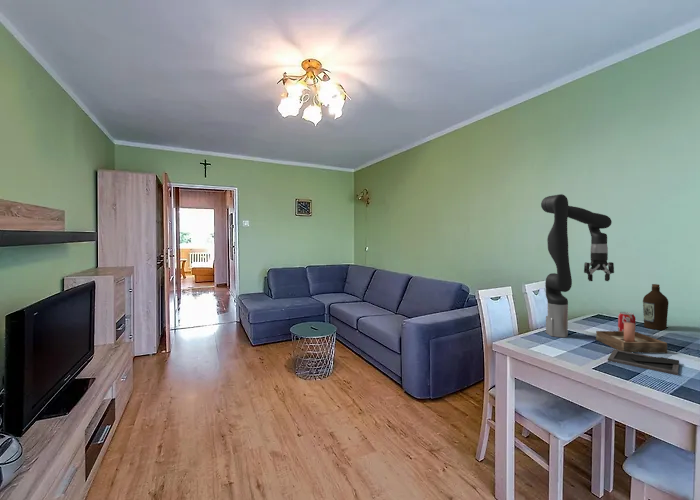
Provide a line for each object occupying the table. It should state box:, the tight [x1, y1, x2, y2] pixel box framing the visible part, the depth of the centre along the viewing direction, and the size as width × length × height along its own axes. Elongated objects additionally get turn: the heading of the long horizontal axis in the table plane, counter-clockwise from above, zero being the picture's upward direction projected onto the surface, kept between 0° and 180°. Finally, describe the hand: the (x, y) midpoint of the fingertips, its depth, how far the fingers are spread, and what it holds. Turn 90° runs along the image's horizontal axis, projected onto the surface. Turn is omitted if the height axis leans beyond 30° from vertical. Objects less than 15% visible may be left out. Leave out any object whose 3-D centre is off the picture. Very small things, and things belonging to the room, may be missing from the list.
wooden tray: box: [595, 330, 668, 354], centre depth 155 cm, size 18×18×4 cm
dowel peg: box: [624, 322, 636, 342], centre depth 155 cm, size 4×4×11 cm
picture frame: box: [607, 348, 680, 376], centre depth 135 cm, size 16×2×21 cm
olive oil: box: [642, 283, 669, 331], centre depth 184 cm, size 11×11×25 cm
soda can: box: [617, 311, 636, 331], centre depth 171 cm, size 7×7×12 cm
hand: (598, 281), depth 179 cm, fingers open, 8 cm apart
